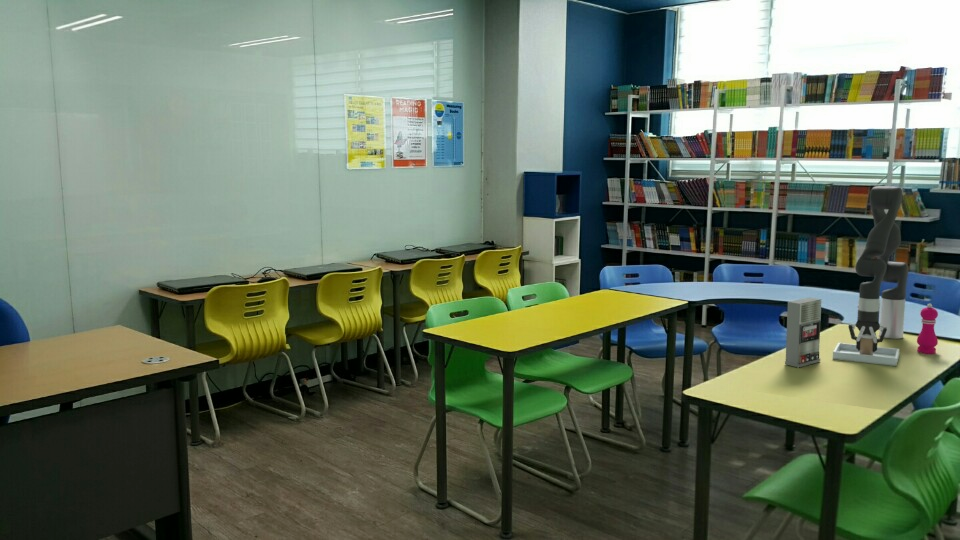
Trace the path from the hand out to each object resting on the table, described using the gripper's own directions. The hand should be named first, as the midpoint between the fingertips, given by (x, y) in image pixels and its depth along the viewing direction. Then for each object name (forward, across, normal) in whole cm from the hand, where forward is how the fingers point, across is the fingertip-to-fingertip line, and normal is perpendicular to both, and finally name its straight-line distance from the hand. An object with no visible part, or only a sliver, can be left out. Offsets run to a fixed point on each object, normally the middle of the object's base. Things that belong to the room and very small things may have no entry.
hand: (866, 350), depth 287 cm
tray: (+3, 0, 0) cm, 3 cm away
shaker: (+1, 0, 0) cm, 1 cm away
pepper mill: (+3, -20, -20) cm, 28 cm away
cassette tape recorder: (+3, +20, +20) cm, 28 cm away
